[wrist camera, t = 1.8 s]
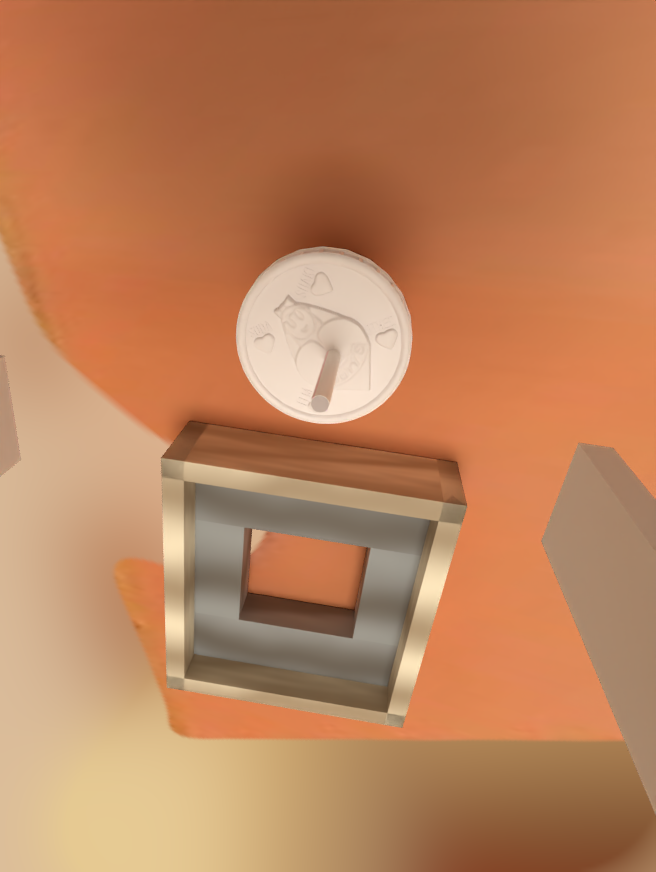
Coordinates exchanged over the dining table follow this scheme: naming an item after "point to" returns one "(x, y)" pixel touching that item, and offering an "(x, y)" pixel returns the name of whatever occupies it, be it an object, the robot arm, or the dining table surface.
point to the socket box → (313, 518)
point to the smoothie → (324, 335)
